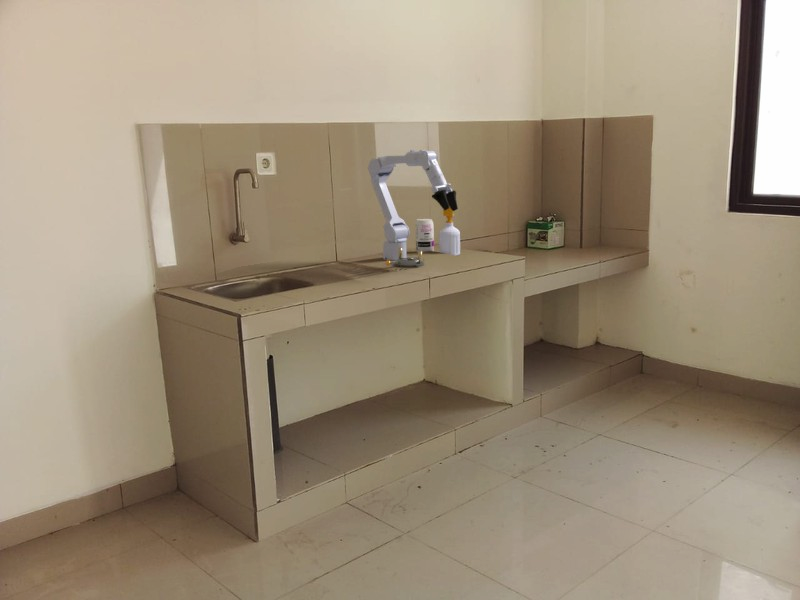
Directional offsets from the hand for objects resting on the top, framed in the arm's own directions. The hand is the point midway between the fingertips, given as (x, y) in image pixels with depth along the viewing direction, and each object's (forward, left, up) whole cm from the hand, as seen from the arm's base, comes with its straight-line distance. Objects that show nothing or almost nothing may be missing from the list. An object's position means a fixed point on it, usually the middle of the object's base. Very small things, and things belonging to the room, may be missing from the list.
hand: (451, 209), depth 261 cm
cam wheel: (-19, -4, -22) cm, 29 cm away
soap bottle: (-11, +33, -24) cm, 42 cm away
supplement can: (-24, +37, -24) cm, 50 cm away
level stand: (-17, -3, -23) cm, 29 cm away
